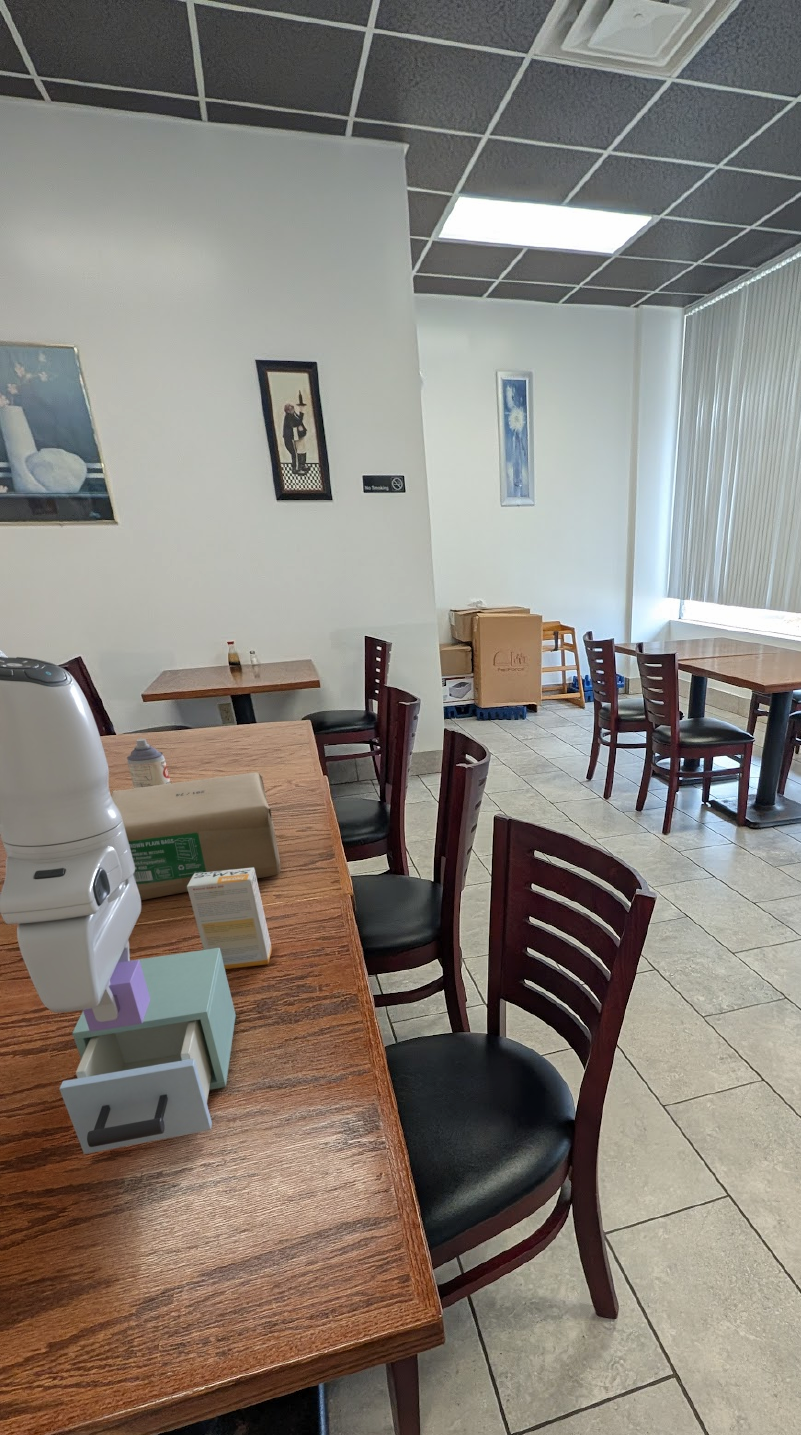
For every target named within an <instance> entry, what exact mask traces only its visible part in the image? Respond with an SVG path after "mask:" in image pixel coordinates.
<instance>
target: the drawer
mask: <svg viewBox="0 0 801 1435" xmlns="http://www.w3.org/2000/svg"><path fill="white" fill-rule="evenodd" d="M212 1070H213V1066H212V1062H211V1058H210V1054H209V1051H208V1047H207V1043H206V1039H205V1035H204V1032H203V1028H202V1024H201V1019H199V1020H193V1021H187V1022H181V1023H175V1024H169V1025H162V1026H156V1027H150V1028H144V1029H138V1030H131V1031H125V1032H119V1033H113V1034H107V1035H101V1036H94V1037H91V1038H90V1041H89V1043H88V1045H87V1048H86V1050H85V1052H84V1055H83V1057H82V1059H81V1058H80V1061H79V1064H78V1066H77V1069H76V1071H75V1075H76V1077H77V1078H73V1079H67V1080H63V1081H62V1082H61V1084H60V1085H59V1086H60V1087H59V1091H60V1095H61V1097H62V1100H63V1102H64V1105H65V1108H66V1110H67V1113H68V1115H69V1118H70V1121H71V1124H72V1126H73V1129H74V1130H75V1134H76V1137H77V1139H78V1142H79V1145H80V1147H81V1149H82V1153H83V1155H88V1154H94V1153H98V1152H104V1151H108V1150H115V1149H120V1148H125V1147H129V1146H135V1145H140V1144H147V1143H151V1142H156V1141H161V1140H166V1139H171V1138H177V1137H181V1136H188V1135H192V1134H197V1133H203V1132H208V1131H212V1124H213V1120H212V1117H211V1114H210V1110H209V1105H208V1100H209V1093H210V1090H209V1088H210V1082H211V1076H212Z"/></svg>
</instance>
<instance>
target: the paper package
mask: <svg viewBox="0 0 801 1435" xmlns="http://www.w3.org/2000/svg"><path fill="white" fill-rule="evenodd" d="M170 783H171V782H170ZM110 795H111V797H112V800H113V801H114V803H115V805H116V806H117V808H118V809H119V811H120V813H121V816H122V820H123V824H124V827H125V831H126V835H127V838H128V842H129V846H130V850H131V853H132V857H133V861H134V865H135V872H134V873H133V875H134V878H135V881H136V884H137V887H138V891H139V894H140V899H141V901H146V900H149V899H155V898H160V897H165V896H170V895H171V896H172V895H176V894H177V895H178V894H182V893H187V892H188V889H187V886H188V884H189V882H190V880H191V878H192V876H193V875H194V874H195V873H204V872H214V871H225V870H233V869H243V868H254V869H255V874H256V878H257V880H258V879H263V878H268V877H273V876H276V875H279V874H280V873H281V870H282V869H281V859H280V853H279V847H278V842H277V838H276V830H275V826H274V821H273V819H272V809H271V808H270V806H269V804H268V800H267V794H266V791H265V785H264V780H263V775H262V774H260V773H259V772H256V771H255V772H249V773H240V774H232V775H225V776H216V777H209V778H202V779H196V780H195V779H194V780H187V781H179V782H172V783H171V784H163V785H156V786H148V787H141V788H134V787H133V788H128V789H119V790H112V792H111V793H110ZM188 893H189V892H188Z"/></svg>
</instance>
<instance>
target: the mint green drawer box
mask: <svg viewBox="0 0 801 1435" xmlns="http://www.w3.org/2000/svg"><path fill="white" fill-rule="evenodd" d="M134 960H135V959H130V961H134ZM136 960H140V964H141V967H142V971H143V975H144V978H145V982H146V985H147V989H148V992H149V996H150V1002H149V1005H148V1008H147V1011H146V1014H145V1017H144V1020H143V1022H142V1024H137V1025H131V1026H124V1027H118V1028H111V1029H104V1030H98V1031H91V1032H90V1030H89V1027H88V1024H87V1021H86V1018H85V1015H84V1012H83V1011H82V1012H81V1014H80V1016H79V1018H78V1019H77V1020H78V1021H77V1023H76V1025H75V1027H74V1029H73V1031H72V1033H71V1035H72V1037H73V1040H74V1043H75V1046H76V1048H77V1051H78V1054H79V1057H80V1060H81V1059H82V1057H83V1055H84V1052H85V1050H86V1048H87V1045H88V1043H89V1041H90V1038H91V1037H94V1036H101V1035H107V1034H113V1033H119V1032H125V1031H131V1030H138V1029H144V1028H150V1027H156V1026H162V1025H169V1024H175V1023H181V1022H187V1021H193V1020H199V1019H201V1024H202V1028H203V1032H204V1035H205V1039H206V1043H207V1047H208V1051H209V1054H210V1058H211V1062H212V1066H213V1070H212V1076H211V1082H210V1088H209V1091H211V1090H216V1089H222V1088H226V1087H227V1082H228V1074H229V1069H230V1068H229V1066H230V1059H231V1053H232V1044H233V1038H234V1030H235V1022H236V1016H237V1015H236V1011H235V1006H234V1002H233V998H232V994H231V989H230V986H229V981H228V976H227V972H226V969H225V968H224V964H223V960H222V955H221V951H220V948H214V949H207V950H204V949H201V950H194V951H188V952H181V953H180V952H179V953H173V954H165V955H159V956H152V957H147V958H146V957H145V958H144V957H143V958H138V959H136Z"/></svg>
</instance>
